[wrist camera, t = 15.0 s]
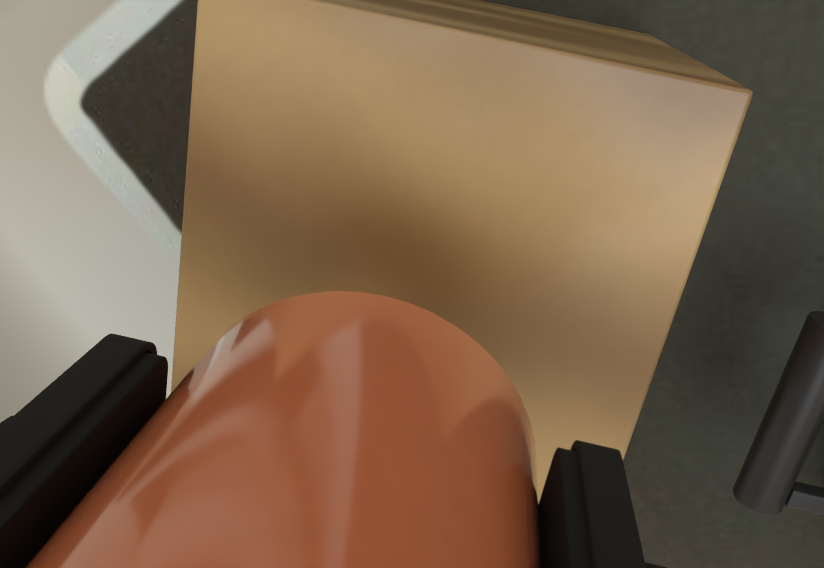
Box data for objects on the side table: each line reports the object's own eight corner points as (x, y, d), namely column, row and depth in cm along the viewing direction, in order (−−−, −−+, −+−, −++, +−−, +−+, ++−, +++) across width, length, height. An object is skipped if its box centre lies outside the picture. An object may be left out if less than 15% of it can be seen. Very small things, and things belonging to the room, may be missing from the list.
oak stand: (568, 316, 28) (596, 539, 17) (303, 257, 29) (166, 436, 18) (651, 34, 24) (755, 90, 13) (342, -29, 25) (197, -25, 14)
